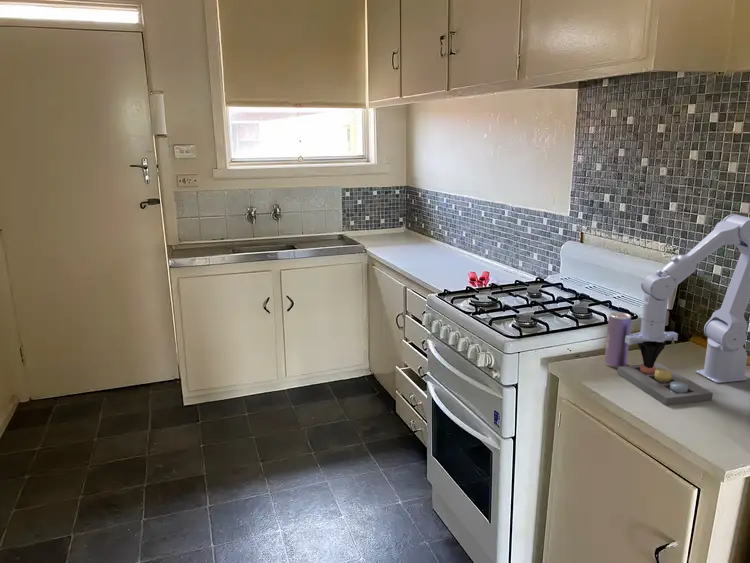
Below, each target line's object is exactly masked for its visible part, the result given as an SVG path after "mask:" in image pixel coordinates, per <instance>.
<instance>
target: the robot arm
mask: <svg viewBox="0 0 750 563" xmlns="http://www.w3.org/2000/svg"><path fill="white" fill-rule="evenodd" d="M729 245H730V246H731V245H735V246H736V247H737V249H738V251H739V252H740V255H739V258H738V260H737V263H736V265H735V268H734V270H733V273H732V276H731V278H730V282H729V285H728V287H727V290H726V292H725V296H724V297H723V301H722V304H721V306H720V308H719V309H717V310H715V311H714V312H712V315H711V317H710V318H709V319H708V320H707V321H706V323H705V324H704V327H703V332H704V335H705V336H706V338H707V339H706V340H707V346H706V352H705V360H704V366H703V369H696V370H695V372H696V373H697V374H699V375H701V376H702V377H704V378H706V379H708V380H710V381H712V382H714V383H715V384H721V383H732V382H741V381H747V380H748V378H747V377H745V375H746V369H747V362H748V354H747V350H746V349H745V348H744V345H745V343H746V342H747V329H748V327H749V326H748V323H747V320H746V318H745V313H746V310H747V308H748V305H749V303H750V217H749V216H745V215H741V214H736V213H731V214H728V215H727V216H725V217H724V218H723V219H722V220H721V221H718V222H717V223H716V225H715V227H714V228H713V230H712V231H710V233H709V234H707V235H706V236H705V237H704V238H703V239H702V240H701V241H699V242H698V243H697V244H696V245H695V246H694V247H693V248H692V249H691V250H690V251H689V252H687V253H686V254H677V255H676V256H675V255H674V256H672V257H671V258H670V261H669V262H667V264H665V265H663V267H661V268H660V269H658V270H656V271H655V273H653V274H652V273H651V274H649V275H647V276H646V277H645V278H644V280H643V282H641V283H640V287H641V290H642V291H643V293H644V298H643V306H642V314H641V324H640V330H639V332H636V333H633V334H630V335H628V336H625V343H627V344H629V346H631V345H632V346H633V344H637V346H638V348H639V350H640V353H641V356H642V362H643V363H642V364H644V366H646V367H647V368H653V366H654V363H656V361H657V359H658V357H659V355H660V354H661V352H662V351H663V350H664V349H665V348H666V347H665V346H666V343H665V341H666V342H667V341H674V342H675V341H678V337H679V333H677V332H675V331H665V327H666V321H667V310H668V303H669V298H671V297H672V296H673V294H674V292H675V289H676V287H677V286H678V285H680V284H681V283H682V282H683V281H684V280H686V279H687V278H688V277H689V276H690V275H692V274H693V273H695V271H696V268H697V267H696V266H697V264H699V263H700V262H702V261H703V260H704V259H705V258H707V257H708V256H710V255H712V254H713V253H714V252H715V251H717V250H718V249H720V248H721V247H722V246H729Z"/></svg>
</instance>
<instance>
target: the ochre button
mask: <svg viewBox="0 0 750 563" xmlns="http://www.w3.org/2000/svg"><path fill="white" fill-rule="evenodd" d="M671 378H672V372H671V371H670V370H667V369H661V368H659V369H656V370H655V376H654V379H655V380H657V381H660V382H671Z"/></svg>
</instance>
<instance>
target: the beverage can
mask: <svg viewBox="0 0 750 563" xmlns="http://www.w3.org/2000/svg"><path fill="white" fill-rule="evenodd" d="M631 327H632V315H631V314H628V313H625V312H622V311H621V312H620V311H619V312H618V311H615V312H610V313H609V316H608V321H607V330H606V331H607V333H606V341H605V351H604V352H605V353H604V362H605V364H606V366H608V367H611V368H615V369H618V367H622V366H627V364H628V355H629V349H630V345H629V344H627V343H625V336H628V335H631V329H632V328H631Z"/></svg>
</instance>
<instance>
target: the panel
mask: <svg viewBox="0 0 750 563" xmlns="http://www.w3.org/2000/svg"><path fill="white" fill-rule="evenodd" d="M640 365H641V364H635V365H634V364H633V365H626V366H622V367H618V368H616V370H617V371H616V373H617V374H616V375H618V376H620V377H621V378H623V379H625V380H626V381H627V382H629V383H630V384H632V385H634V386H635V387H637V388H639V390H641V391H643V392H644V393H646V394H647V395H649V396H650V397H652V398H653V399H655V400H657V401H658V402H660V403H661V404H662V405H664V406H674V405H682V404H684V405H685V404H691V403H693V404H694V403H701V402H709V401H713V395H714V393H713V392H712V391H710V390H708V389H707V388H705V387H703V386H701V385H699V384H698V383H696V382H694V381H692V380H691V379H689V378H687V377H685V376H684V375H682V374H681V373H679V372H677V371H674V370H672V368H669V367H667V366H665V365H664V364H662V363H660V362H655V363H654V366H656V369H659V368H661V369H667V370H670V371H671V372H672V378H671V382H673V381H678V382H683V383H685V384H687V385H688V391H687V393H681V394H676V393H674V392H673V391H671V390H670V383H671V382H660V381H657V380H655V379H654V376H655V374H649V375H645V374H643V373H642V372H640Z"/></svg>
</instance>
